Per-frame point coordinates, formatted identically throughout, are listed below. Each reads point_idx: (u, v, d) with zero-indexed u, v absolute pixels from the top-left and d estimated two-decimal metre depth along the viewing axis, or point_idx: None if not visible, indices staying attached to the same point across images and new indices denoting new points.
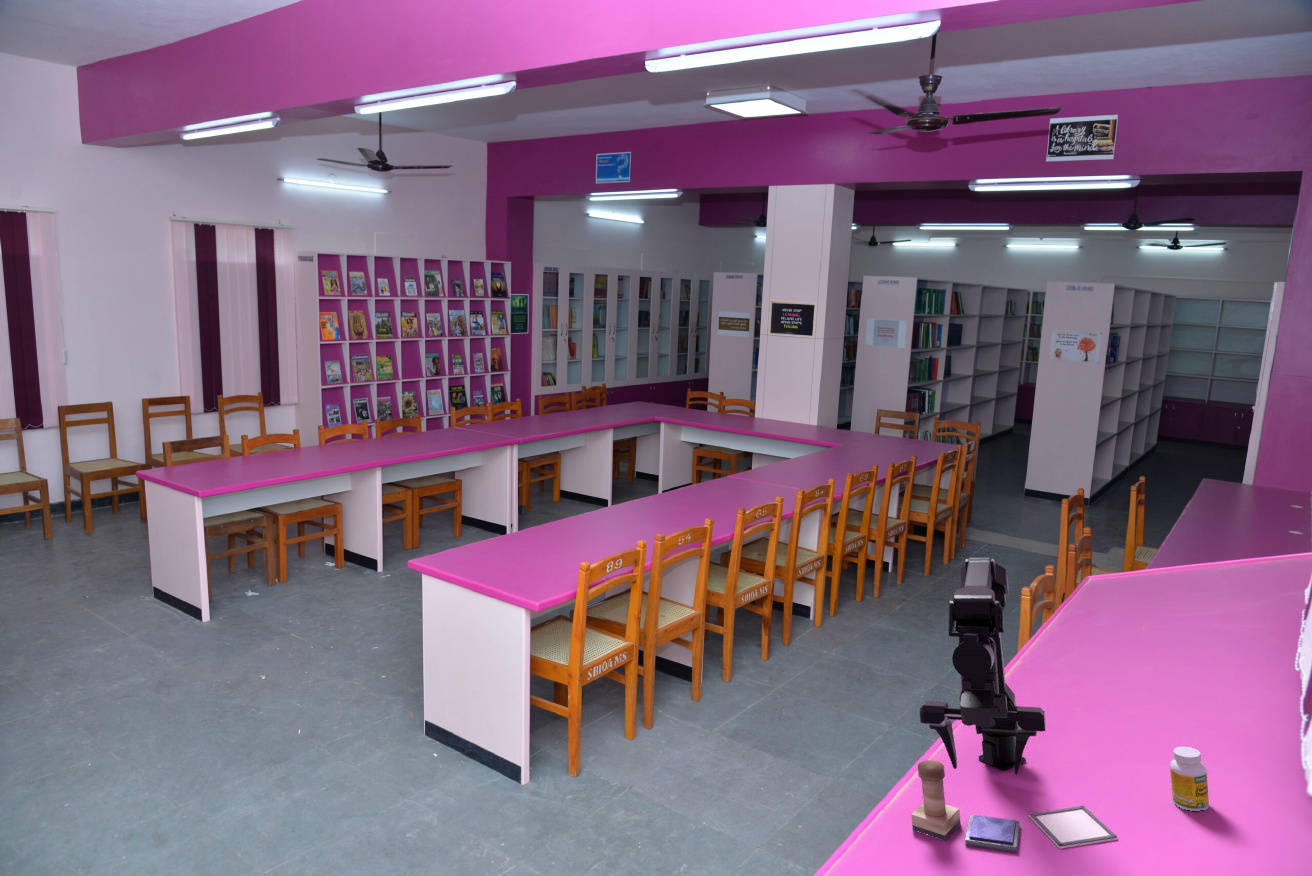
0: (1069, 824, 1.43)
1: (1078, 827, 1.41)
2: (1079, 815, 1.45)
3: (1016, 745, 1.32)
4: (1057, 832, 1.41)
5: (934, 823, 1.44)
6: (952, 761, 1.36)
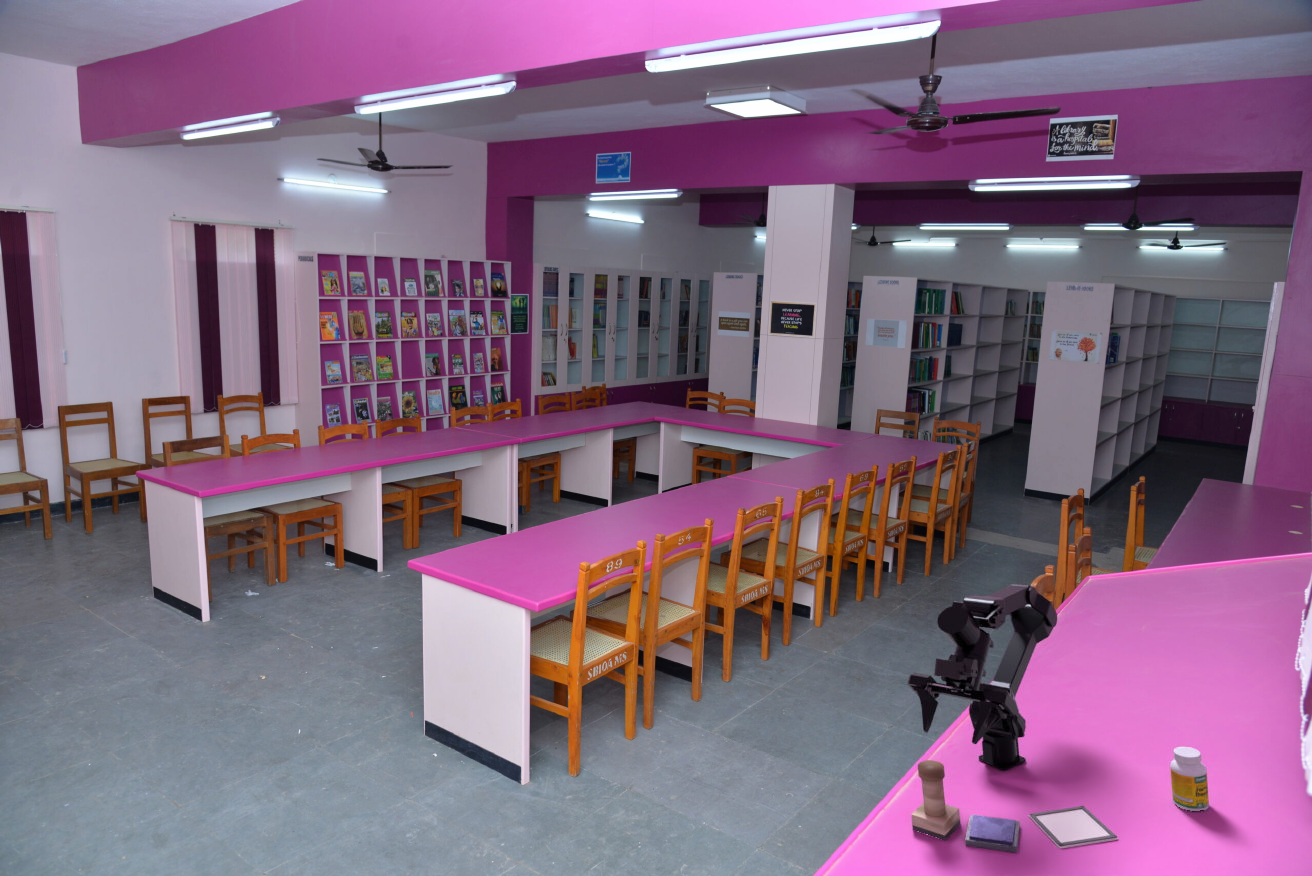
0: (1069, 824, 1.43)
1: (1078, 827, 1.41)
2: (1079, 815, 1.45)
3: (979, 716, 1.49)
4: (1057, 832, 1.41)
5: (934, 823, 1.44)
6: (923, 723, 1.55)
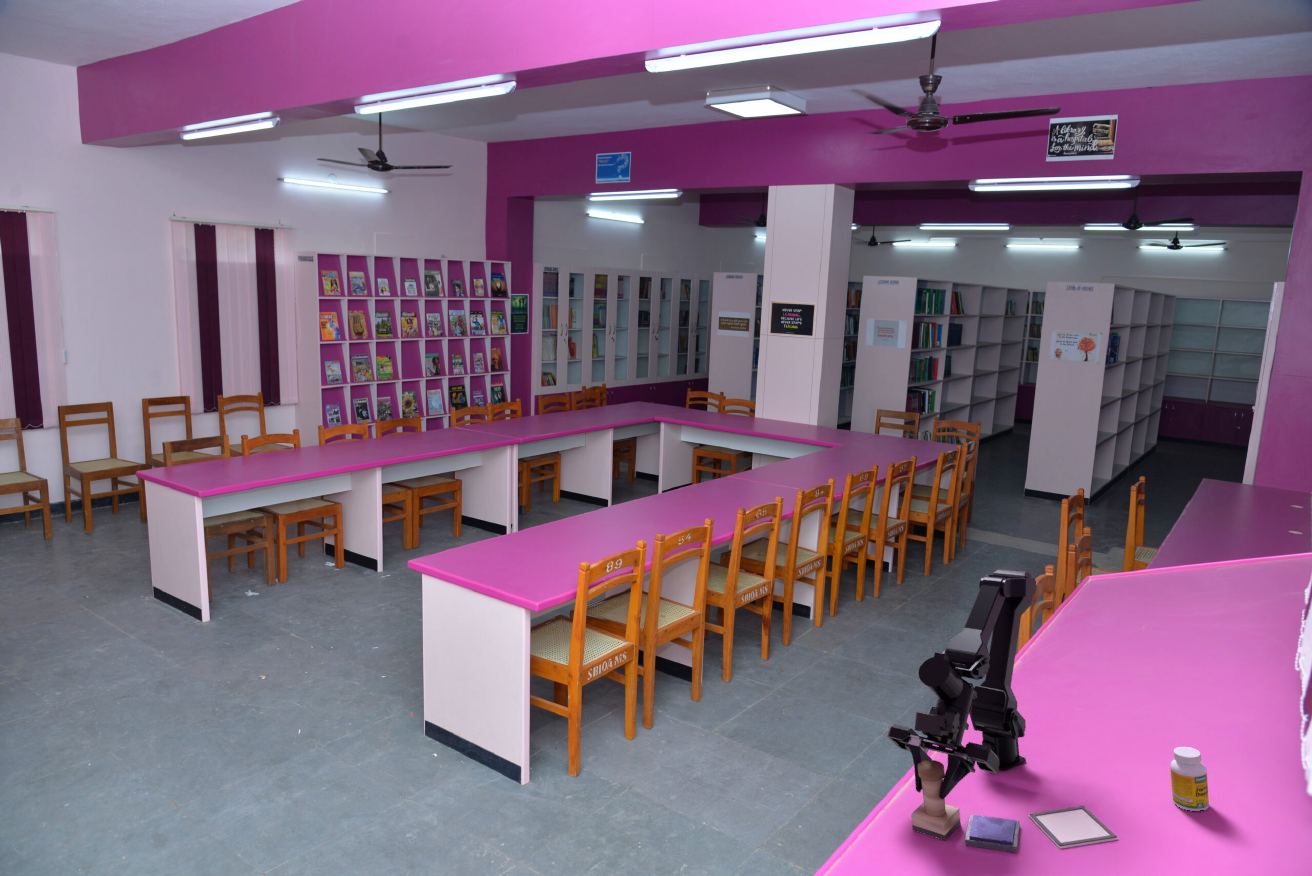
0: (1069, 824, 1.43)
1: (1078, 827, 1.41)
2: (1079, 815, 1.45)
3: (947, 770, 1.45)
4: (1057, 832, 1.41)
5: (934, 823, 1.44)
6: (916, 782, 1.47)
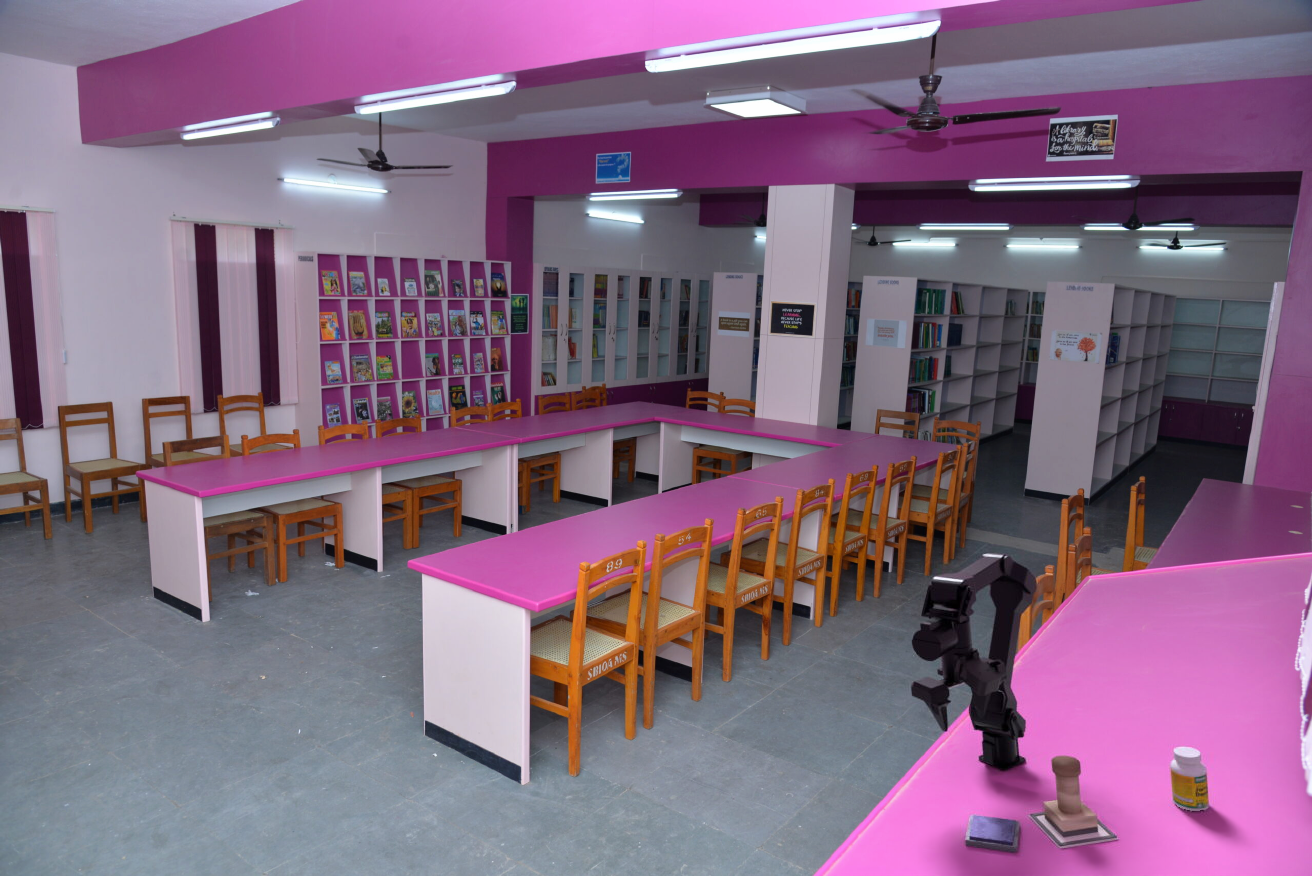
0: None
1: None
2: None
3: (986, 695, 1.57)
4: (1057, 832, 1.41)
5: (1086, 818, 1.39)
6: (945, 726, 1.54)
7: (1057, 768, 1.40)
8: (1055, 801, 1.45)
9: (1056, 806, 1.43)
